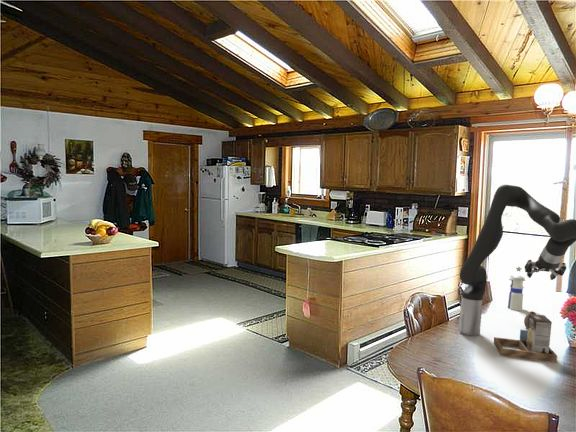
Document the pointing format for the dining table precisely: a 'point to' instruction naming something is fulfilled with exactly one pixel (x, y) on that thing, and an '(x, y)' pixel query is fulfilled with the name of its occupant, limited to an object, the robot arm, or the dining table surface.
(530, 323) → the coffee box
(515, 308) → the white blue toy tower
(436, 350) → the dining table surface
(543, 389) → the dining table surface
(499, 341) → the organiser
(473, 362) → the dining table surface
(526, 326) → the vase
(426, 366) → the dining table surface
